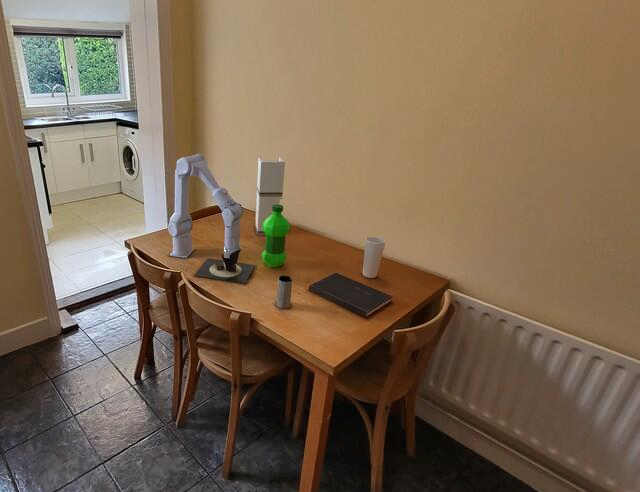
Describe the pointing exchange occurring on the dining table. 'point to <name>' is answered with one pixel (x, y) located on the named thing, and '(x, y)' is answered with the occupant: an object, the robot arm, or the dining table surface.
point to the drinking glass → (372, 256)
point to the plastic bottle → (275, 237)
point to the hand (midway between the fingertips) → (231, 267)
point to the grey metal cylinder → (284, 291)
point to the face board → (225, 272)
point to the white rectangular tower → (268, 190)
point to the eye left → (219, 266)
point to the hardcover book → (351, 294)
